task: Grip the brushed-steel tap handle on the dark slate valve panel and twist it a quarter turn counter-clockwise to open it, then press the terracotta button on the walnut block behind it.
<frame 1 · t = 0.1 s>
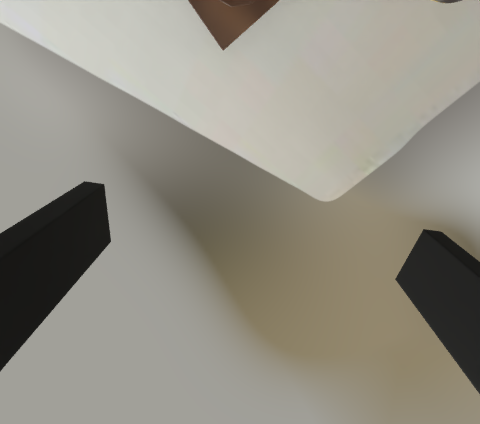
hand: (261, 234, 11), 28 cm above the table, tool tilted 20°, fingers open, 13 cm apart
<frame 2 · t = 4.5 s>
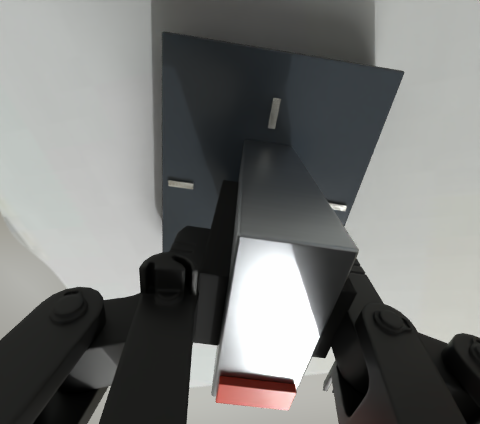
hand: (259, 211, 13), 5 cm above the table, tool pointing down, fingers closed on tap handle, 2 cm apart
valve panel: (256, 176, 17), on the table
tap handle: (262, 241, 10), point 8 cm above the table, hinge at 0.0°, touching gripper
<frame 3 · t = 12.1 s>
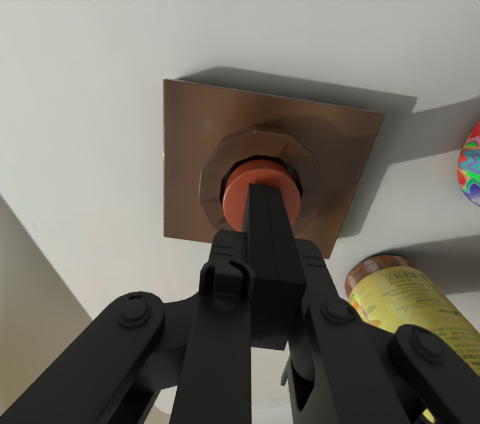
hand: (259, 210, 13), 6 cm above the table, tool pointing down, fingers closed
sauce bottle: (378, 278, 22), on the table
button block: (258, 172, 18), on the table
button: (260, 199, 14), point 4 cm above the table, slide at 0.1 cm, touching gripper
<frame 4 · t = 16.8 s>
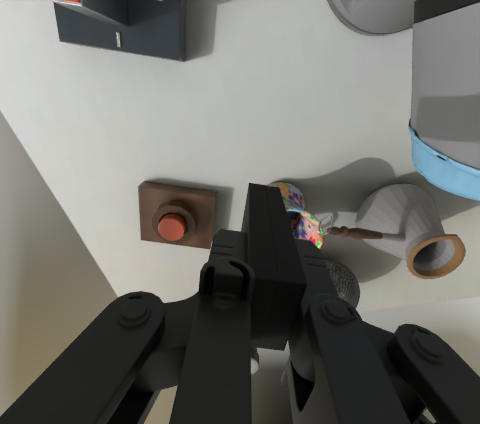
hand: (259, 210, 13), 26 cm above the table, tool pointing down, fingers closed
coffee pot: (358, 200, 41), on the table
decorative ball: (320, 269, 48), on the table
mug: (275, 210, 42), on the table
button block: (179, 213, 43), on the table
button: (172, 227, 39), point 4 cm above the table, slide at 0.1 cm
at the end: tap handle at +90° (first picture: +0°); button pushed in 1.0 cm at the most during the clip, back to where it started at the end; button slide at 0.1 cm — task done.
